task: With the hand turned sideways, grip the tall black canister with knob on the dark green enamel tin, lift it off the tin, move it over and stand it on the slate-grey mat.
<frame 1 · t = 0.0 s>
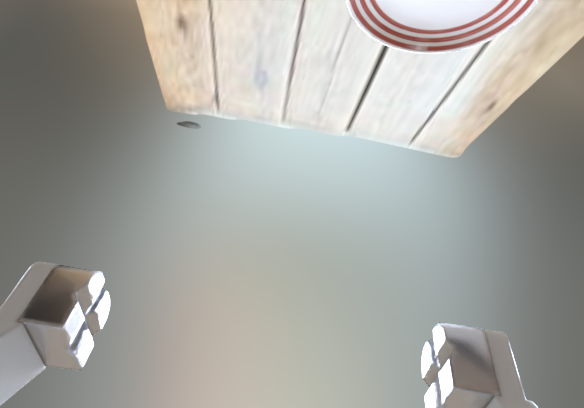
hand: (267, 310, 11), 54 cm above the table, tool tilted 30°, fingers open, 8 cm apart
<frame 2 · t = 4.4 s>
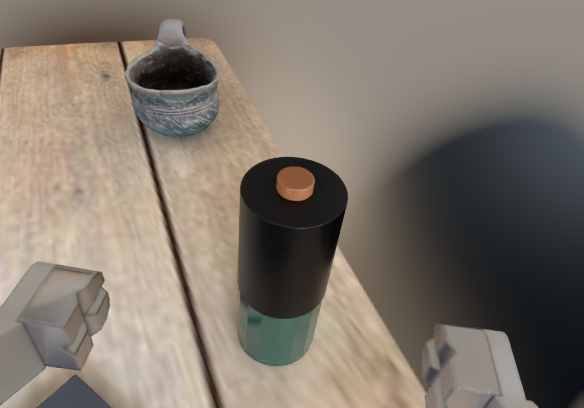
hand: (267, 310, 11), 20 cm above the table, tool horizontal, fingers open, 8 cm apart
tin: (275, 330, 34), on the table
black canister with knob: (281, 288, 30), point 5 cm above the table, touching tin
mug: (175, 120, 53), on the table
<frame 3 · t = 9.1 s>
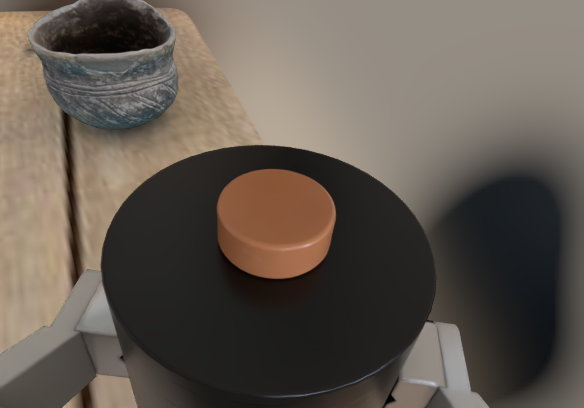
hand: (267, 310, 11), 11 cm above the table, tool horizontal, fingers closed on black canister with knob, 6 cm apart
mug: (118, 107, 37), on the table
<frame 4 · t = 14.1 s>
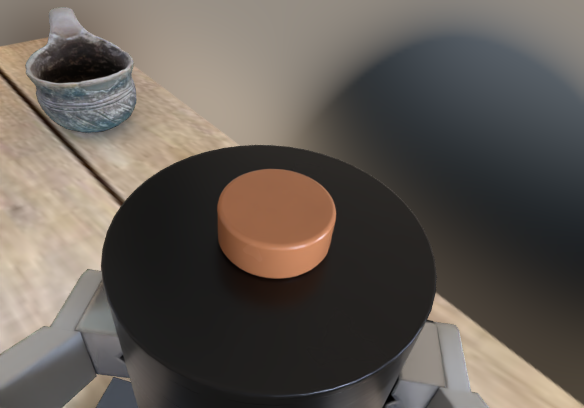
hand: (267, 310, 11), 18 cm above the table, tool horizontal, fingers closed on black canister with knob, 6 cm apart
mug: (88, 117, 49), on the table
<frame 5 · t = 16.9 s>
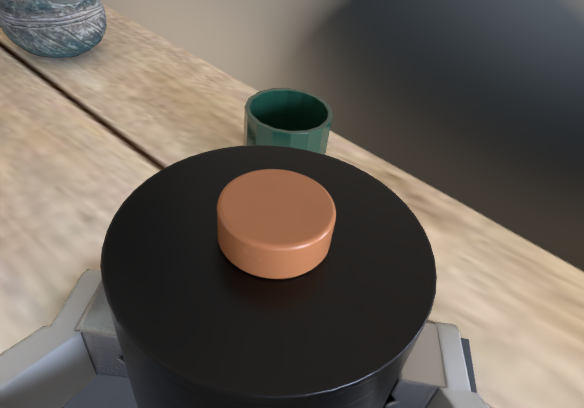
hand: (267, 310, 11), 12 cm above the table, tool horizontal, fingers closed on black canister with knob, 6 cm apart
tin: (281, 181, 33), on the table
mug: (54, 46, 46), on the table
when the fingers open (6 cm above the table, at t = 19.0 s): black canister with knob stays where it is, resting on mat.
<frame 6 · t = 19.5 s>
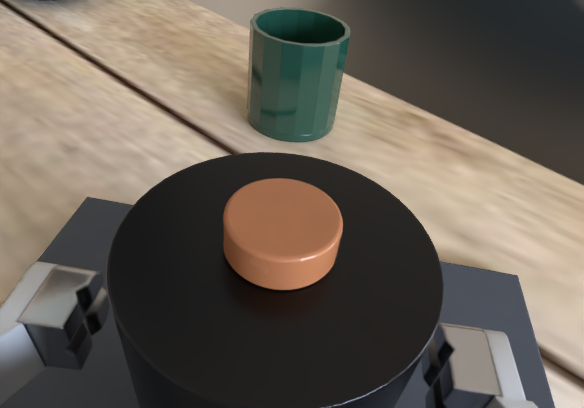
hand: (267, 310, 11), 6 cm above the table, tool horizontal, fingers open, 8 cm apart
tin: (290, 117, 29), on the table
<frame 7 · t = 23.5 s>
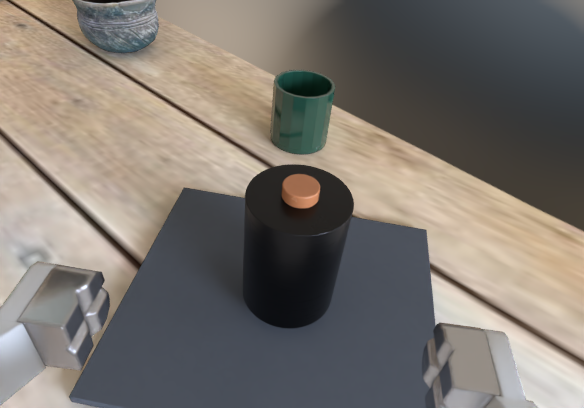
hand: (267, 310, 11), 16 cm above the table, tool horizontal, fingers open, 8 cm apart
tin: (298, 138, 45), on the table
black canister with knob: (286, 297, 30), point 1 cm above the table, touching mat
mat: (283, 301, 30), on the table
mug: (117, 44, 58), on the table
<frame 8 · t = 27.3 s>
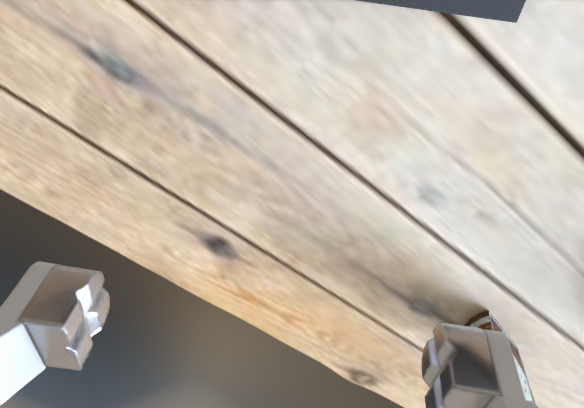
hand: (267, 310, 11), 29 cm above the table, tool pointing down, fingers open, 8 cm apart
food container: (479, 335, 59), on the table
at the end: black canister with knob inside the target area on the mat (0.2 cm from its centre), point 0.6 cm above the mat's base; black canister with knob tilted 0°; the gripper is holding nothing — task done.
